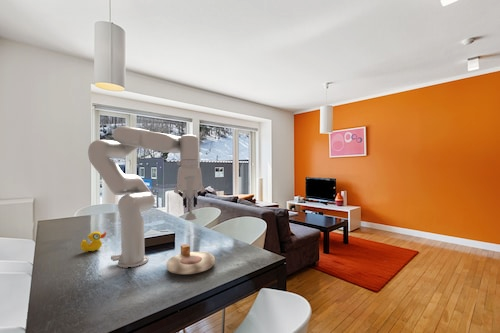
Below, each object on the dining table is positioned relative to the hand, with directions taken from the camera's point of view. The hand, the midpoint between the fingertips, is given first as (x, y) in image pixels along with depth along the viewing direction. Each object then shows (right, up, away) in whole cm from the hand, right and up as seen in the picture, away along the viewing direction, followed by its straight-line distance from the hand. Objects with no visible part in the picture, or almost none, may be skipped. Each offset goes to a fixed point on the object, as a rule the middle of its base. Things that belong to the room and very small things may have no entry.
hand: (190, 206), depth 103 cm
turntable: (0, -25, 0) cm, 25 cm away
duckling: (-57, -28, +23) cm, 67 cm away
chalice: (0, -5, 0) cm, 5 cm away
